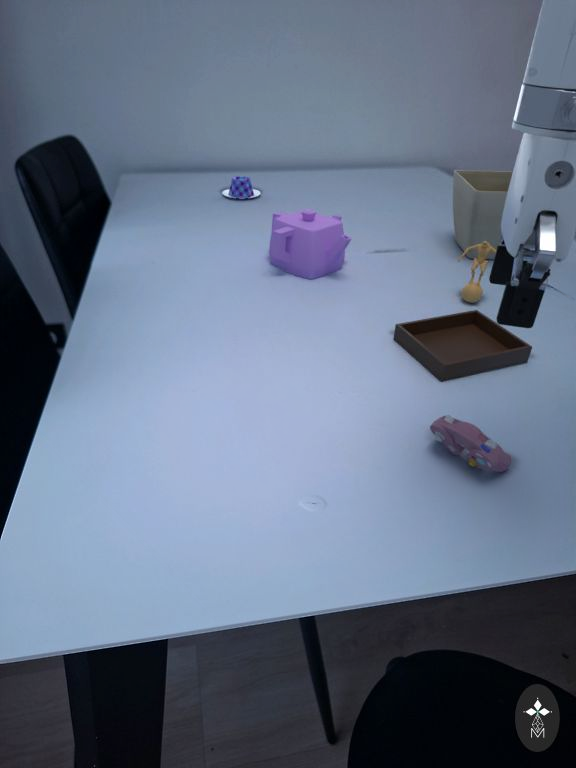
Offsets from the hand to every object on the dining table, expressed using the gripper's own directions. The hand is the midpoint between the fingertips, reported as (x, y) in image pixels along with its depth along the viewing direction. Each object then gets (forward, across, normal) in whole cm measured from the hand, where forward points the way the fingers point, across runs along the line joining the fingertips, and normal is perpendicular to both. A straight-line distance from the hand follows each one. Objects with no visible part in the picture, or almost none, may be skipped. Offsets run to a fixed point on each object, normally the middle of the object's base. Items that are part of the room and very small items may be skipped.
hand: (508, 303), depth 53 cm
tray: (+23, +31, -1) cm, 38 cm away
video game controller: (+23, +3, -1) cm, 23 cm away
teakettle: (+23, +61, +32) cm, 72 cm away
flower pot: (+23, +83, -9) cm, 87 cm away
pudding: (+23, +111, +64) cm, 130 cm away
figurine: (+23, +52, -4) cm, 57 cm away
